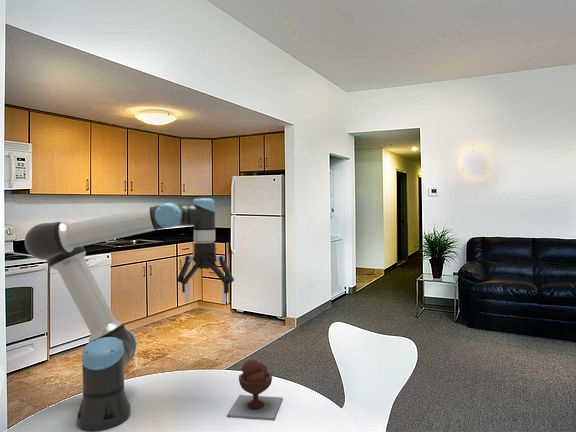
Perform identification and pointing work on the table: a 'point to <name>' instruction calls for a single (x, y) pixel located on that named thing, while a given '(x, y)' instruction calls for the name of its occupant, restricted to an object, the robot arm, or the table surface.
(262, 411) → the slate mat
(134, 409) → the table surface
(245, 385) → the ice cream bowl
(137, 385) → the table surface
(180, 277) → the robot arm
